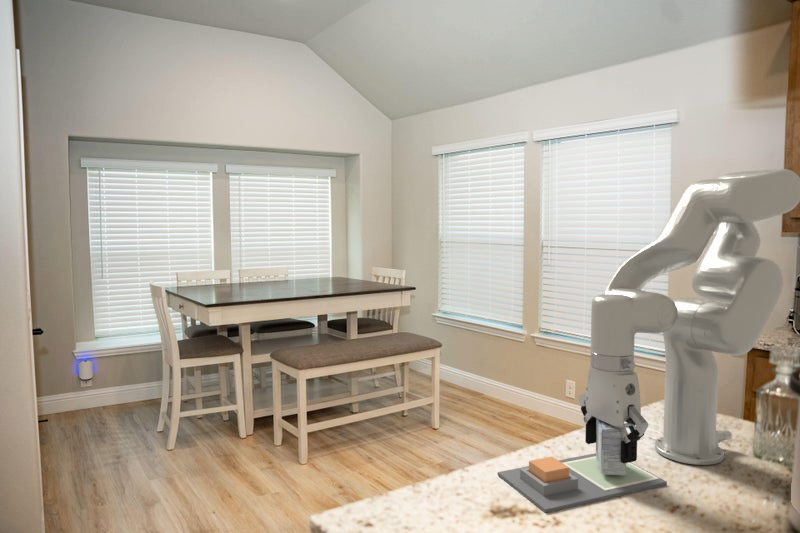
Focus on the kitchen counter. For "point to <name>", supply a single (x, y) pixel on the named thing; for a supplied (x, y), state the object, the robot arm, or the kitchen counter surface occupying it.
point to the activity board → (579, 484)
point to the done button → (548, 469)
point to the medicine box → (609, 449)
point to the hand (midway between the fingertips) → (610, 451)
